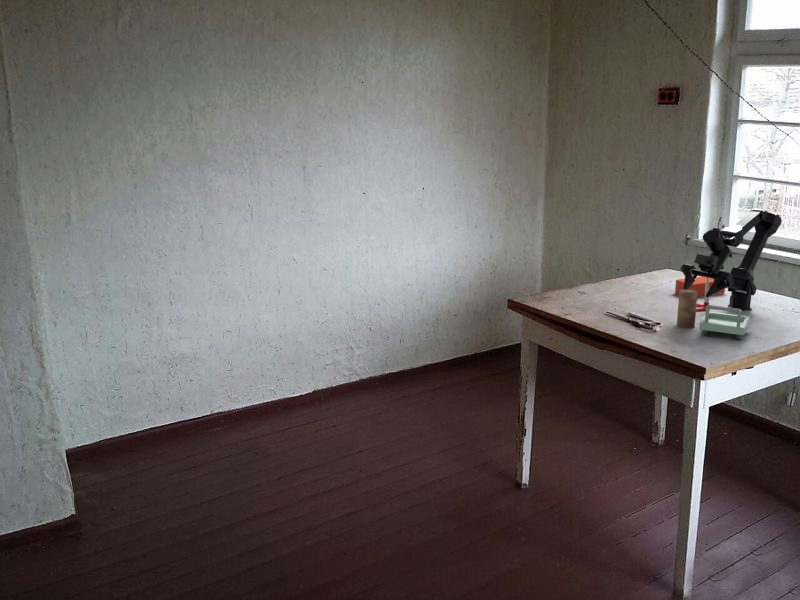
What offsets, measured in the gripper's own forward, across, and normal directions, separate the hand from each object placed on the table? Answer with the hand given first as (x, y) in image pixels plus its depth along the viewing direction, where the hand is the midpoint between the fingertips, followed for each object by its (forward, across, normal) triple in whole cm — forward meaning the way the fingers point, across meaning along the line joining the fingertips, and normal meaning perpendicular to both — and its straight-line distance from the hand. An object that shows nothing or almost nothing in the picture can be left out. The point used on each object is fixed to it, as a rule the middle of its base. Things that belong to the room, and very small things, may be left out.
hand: (695, 293), depth 269 cm
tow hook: (-4, -11, +20) cm, 23 cm away
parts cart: (+8, +13, +7) cm, 17 cm away
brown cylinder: (+10, 0, +5) cm, 12 cm away
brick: (-18, -22, +34) cm, 45 cm away
